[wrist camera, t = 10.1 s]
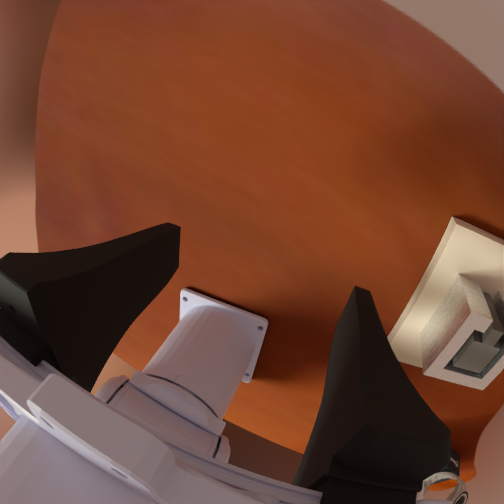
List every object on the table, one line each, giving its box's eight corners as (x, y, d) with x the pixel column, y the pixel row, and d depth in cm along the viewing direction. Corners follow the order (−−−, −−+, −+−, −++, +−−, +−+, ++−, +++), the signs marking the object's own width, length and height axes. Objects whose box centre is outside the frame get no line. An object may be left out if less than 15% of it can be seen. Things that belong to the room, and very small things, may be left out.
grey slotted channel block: (475, 351, 20) (482, 390, 16) (420, 333, 21) (423, 374, 17) (515, 297, 17) (531, 335, 13) (458, 273, 18) (471, 312, 14)
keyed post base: (466, 370, 22) (472, 417, 18) (381, 345, 24) (378, 396, 20) (543, 260, 16) (571, 303, 11) (452, 216, 17) (473, 257, 13)
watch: (472, 452, 27) (470, 525, 19) (420, 468, 32) (411, 536, 23) (460, 438, 27) (458, 519, 18) (404, 456, 31) (393, 531, 22)
